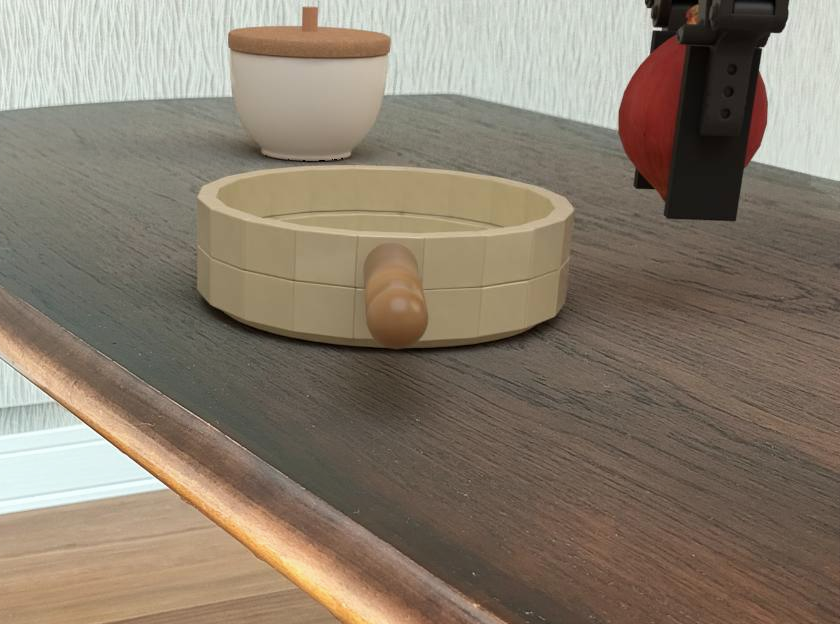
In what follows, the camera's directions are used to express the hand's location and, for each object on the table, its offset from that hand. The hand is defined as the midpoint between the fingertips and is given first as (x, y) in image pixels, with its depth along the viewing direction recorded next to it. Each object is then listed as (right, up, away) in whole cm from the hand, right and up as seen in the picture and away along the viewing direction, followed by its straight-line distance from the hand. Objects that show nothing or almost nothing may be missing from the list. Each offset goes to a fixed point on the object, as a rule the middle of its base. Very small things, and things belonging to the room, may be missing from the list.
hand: (681, 201), depth 60 cm
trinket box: (-16, +12, +38) cm, 43 cm away
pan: (-13, -4, +2) cm, 13 cm away
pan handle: (-13, -7, -10) cm, 18 cm away
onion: (0, 0, 0) cm, 0 cm away
